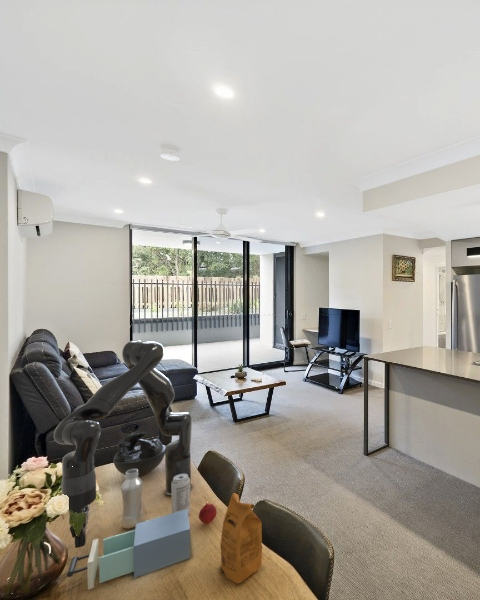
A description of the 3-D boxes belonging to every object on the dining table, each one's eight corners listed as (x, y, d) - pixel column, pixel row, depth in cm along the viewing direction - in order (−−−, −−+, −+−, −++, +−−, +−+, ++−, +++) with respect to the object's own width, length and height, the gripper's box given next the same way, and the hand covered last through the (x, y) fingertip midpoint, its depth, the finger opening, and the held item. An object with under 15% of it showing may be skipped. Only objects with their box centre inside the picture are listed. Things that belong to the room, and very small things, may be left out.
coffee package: (246, 550, 120) (246, 484, 119) (266, 569, 111) (265, 499, 111) (215, 567, 112) (215, 497, 111) (234, 589, 104) (233, 514, 103)
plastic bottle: (132, 532, 128) (131, 476, 128) (116, 529, 130) (115, 474, 129) (148, 521, 135) (147, 468, 134) (133, 518, 136) (132, 466, 135)
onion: (220, 520, 135) (220, 499, 135) (207, 530, 130) (207, 508, 129) (208, 517, 137) (208, 496, 137) (195, 526, 132) (195, 504, 131)
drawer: (65, 597, 100) (64, 570, 100) (73, 571, 109) (72, 545, 109) (145, 569, 110) (145, 544, 110) (146, 547, 119) (146, 524, 119)
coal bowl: (128, 465, 177) (128, 427, 177) (173, 462, 181) (173, 424, 180) (103, 487, 158) (102, 444, 157) (154, 483, 161) (153, 441, 161)
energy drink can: (186, 508, 142) (186, 471, 142) (192, 514, 138) (192, 476, 138) (169, 516, 138) (168, 477, 137) (175, 522, 134) (174, 482, 133)
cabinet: (134, 578, 108) (133, 546, 108) (136, 552, 118) (135, 523, 118) (190, 558, 116) (190, 528, 116) (187, 535, 126) (187, 508, 126)
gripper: (92, 494, 102) (93, 554, 102) (98, 474, 113) (100, 528, 113) (56, 502, 98) (57, 565, 98) (66, 481, 109) (68, 537, 109)
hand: (80, 545), depth 106 cm, fingers closed
